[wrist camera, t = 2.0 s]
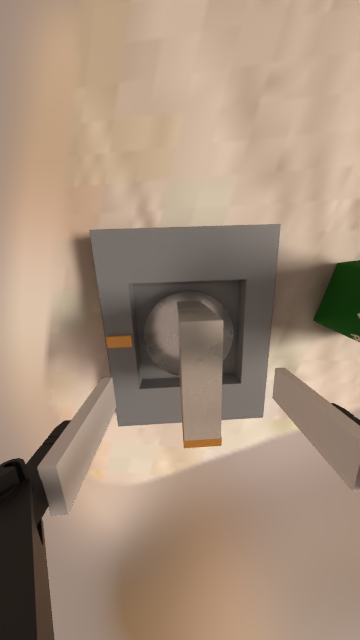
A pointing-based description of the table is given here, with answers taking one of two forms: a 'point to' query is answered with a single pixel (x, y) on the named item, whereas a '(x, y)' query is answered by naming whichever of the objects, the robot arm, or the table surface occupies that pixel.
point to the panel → (179, 275)
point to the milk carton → (342, 301)
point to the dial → (192, 358)
